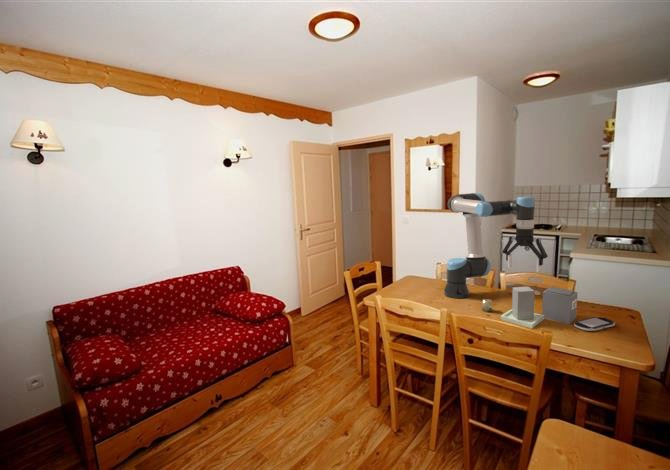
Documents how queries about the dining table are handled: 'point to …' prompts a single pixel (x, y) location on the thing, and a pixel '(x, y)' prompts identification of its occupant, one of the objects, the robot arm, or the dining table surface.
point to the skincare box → (523, 303)
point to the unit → (559, 305)
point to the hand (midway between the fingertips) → (523, 269)
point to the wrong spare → (486, 305)
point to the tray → (525, 322)
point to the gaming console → (594, 324)
